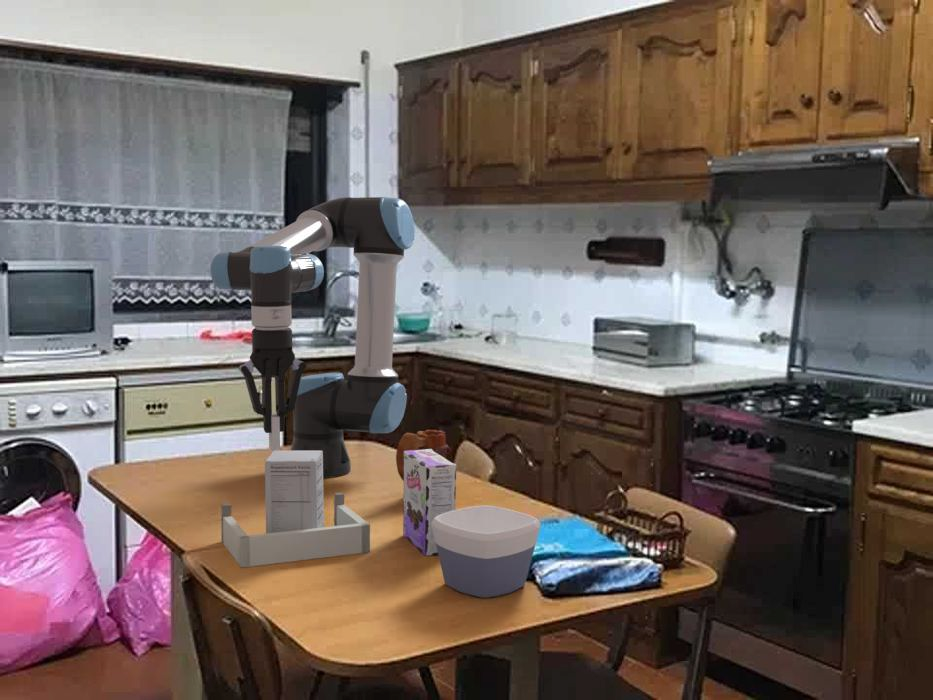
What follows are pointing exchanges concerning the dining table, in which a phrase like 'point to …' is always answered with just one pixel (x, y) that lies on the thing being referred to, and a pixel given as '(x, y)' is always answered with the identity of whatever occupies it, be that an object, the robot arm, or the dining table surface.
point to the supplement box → (294, 491)
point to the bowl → (485, 549)
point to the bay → (297, 539)
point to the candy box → (426, 495)
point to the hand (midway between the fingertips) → (274, 448)
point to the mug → (421, 445)
